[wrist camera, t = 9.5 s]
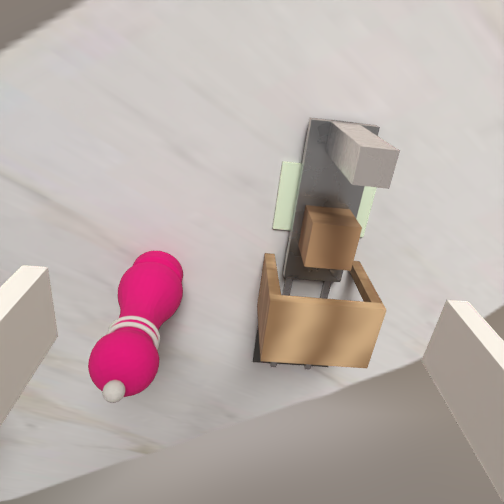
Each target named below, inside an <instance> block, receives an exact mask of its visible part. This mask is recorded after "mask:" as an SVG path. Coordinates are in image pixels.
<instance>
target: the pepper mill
mask: <svg viewBox="0 0 504 504" xmlns="http://www.w3.org/2000/svg"><path fill="white" fill-rule="evenodd" d="M182 278H183V270H182V267H181V265H180V263H179V262H178V261H177V260H176V259H175V258H174V257H173V256H172V255H170V254H168V253H165V252H162V251H149V252H146V253H144V254H142V255H140V256H139V257H138V258H137V259H136V261H135V262H134V264H133V266H132V267H131V268H129V269H128V270H127V271H126V272H125V274H124V275H123V276H122V278H121V281H120V284H119V287H118V302H119V305H120V309H121V312H120V316H119V319H117V320H115V321H114V322H113V323H112V324H111V325H110V327H109V330H108V332H107V334H106V335H105V336H103V337H102V338H101V339H100V340H99V341H98V342H97V343H96V345H95V346H94V348H93V350H92V352H91V355H90V358H89V365H88V368H89V373H90V377H91V379H92V381H93V382H94V384H95V385H96V386H97V387H98V388H99V389H100V390H101V391H103V392H102V393H103V397H104V399H105V400H106V401H107V402H110V403H115V402H118V401H120V400H121V399H122V398H123V397H126V396H132V395H135V394H138V393H140V392H141V391H143V390H144V389H146V388H147V387H148V386H149V385H150V383H151V382H152V381H153V380H154V378H155V375H156V373H157V371H158V367H159V355H158V352H157V350H158V346H159V343H160V334H159V331H158V330H159V328H160V326H161V325H162V324H163V323H164V322H165V321H166V320H167V319H169V318H170V317H171V316H172V315H173V314H174V313H175V311H176V310H177V308H178V307H179V305H180V302H181V299H182V295H183V288H182V284H181V282H182Z"/></svg>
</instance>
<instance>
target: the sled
mask: <svg viewBox="0 0 504 504" xmlns="http://www.w3.org/2000/svg"><path fill="white" fill-rule="evenodd" d="M379 128H380V127H378V126H377V125H370V124H361V123H353V122H344V121H335V120H326V119H318V118H310V119H309V125H308V131H307V136H306V142H305V148H304V154H303V160H302V165H301V171H300V177H299V183H298V189H297V194H296V200H295V206H294V212H293V218H292V223H291V229H290V235H289V241H288V247H287V252H286V258H285V264H284V270H283V275H284V277H285V278H296V279H308V280H320V281H332V282H340V281H341V277H342V273H343V270H337V269H326V268H314V267H304V264H303V260H302V257H301V253H300V250H299V246H298V244H299V238H300V233H301V228H302V222H303V217H304V212H305V206H306V205H310V206H321V207H331V208H341V209H350V210H351V212H352V213H353V215H354V216H355V218H357V214H358V210H359V207H360V203H361V199H362V195H363V191H364V187H365V186H368V187H378V188H388V189H389V187H390V184H391V180H392V177H393V173H394V170H395V166H396V163H397V159H398V156H399V152H400V150H398V149H397V148H395V147H393V146H392V145H390V144H389V143H387V142H386V141H384V140H383V139H381V138H380V137H378V132H379Z"/></svg>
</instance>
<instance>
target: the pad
mask: <svg viewBox="0 0 504 504" xmlns="http://www.w3.org/2000/svg"><path fill="white" fill-rule="evenodd" d="M301 165H302V163H292V162H282V169H281V175H280V182H279V189H278V195H277V202H276V209H275V216H274V222H273V229H280V230H290V229H291V223H292V218H293V212H294V206H295V200H296V194H297V189H298V183H299V177H300V171H301ZM376 188H377V187H368V186H365V187H364V191H363V195H362V199H361V203H360V207H359V210H358V214H357V218H356V219H357V221H358V222H359V224H360V225H361V227H362V230H361V234H360V237H363V236H364V232H365V228H366V225H367V221H368V217H369V214H370V210H371V206H372V203H373V199H374V195H375V191H376Z"/></svg>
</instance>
